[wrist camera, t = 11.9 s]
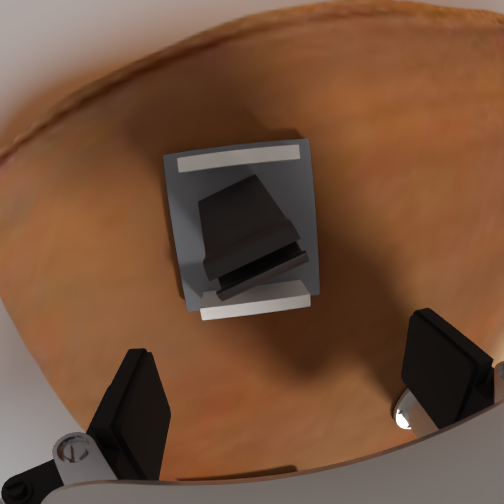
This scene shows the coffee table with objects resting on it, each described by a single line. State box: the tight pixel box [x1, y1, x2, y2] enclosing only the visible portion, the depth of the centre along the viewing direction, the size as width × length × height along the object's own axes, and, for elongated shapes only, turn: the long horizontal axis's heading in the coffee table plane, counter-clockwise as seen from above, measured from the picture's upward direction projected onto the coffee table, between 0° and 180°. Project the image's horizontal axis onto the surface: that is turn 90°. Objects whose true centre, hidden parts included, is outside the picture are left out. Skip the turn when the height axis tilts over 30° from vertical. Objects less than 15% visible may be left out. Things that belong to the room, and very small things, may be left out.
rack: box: [163, 139, 320, 320], centre depth 29 cm, size 14×16×6 cm
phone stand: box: [198, 174, 309, 301], centre depth 24 cm, size 9×6×12 cm, turn 25°
